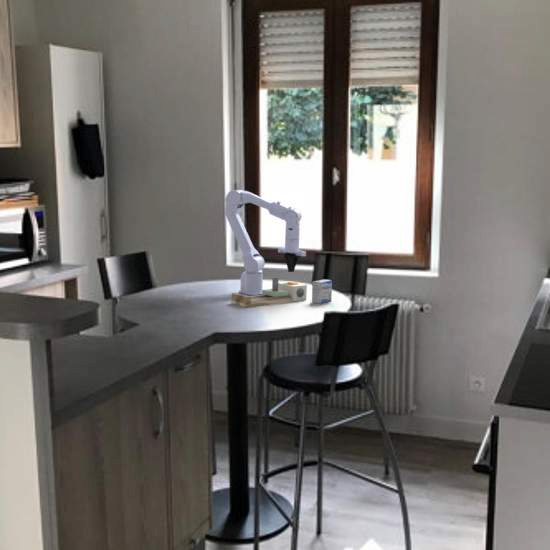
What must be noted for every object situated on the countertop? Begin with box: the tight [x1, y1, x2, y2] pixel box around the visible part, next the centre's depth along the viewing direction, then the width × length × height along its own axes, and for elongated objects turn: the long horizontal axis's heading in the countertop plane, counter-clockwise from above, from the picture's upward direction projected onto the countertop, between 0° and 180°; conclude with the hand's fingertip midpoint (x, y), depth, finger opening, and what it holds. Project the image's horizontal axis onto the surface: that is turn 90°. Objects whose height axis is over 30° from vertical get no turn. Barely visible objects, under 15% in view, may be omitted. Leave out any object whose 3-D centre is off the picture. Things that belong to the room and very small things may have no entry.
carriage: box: [261, 277, 288, 297], centre depth 298 cm, size 8×7×7 cm
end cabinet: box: [278, 281, 308, 302], centre depth 304 cm, size 10×7×6 cm
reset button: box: [286, 281, 298, 285], centre depth 304 cm, size 4×4×6 cm
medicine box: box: [311, 279, 333, 305], centre depth 298 cm, size 8×4×9 cm, turn 143°
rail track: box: [231, 292, 294, 308], centre depth 295 cm, size 10×23×4 cm, turn 129°
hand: (291, 271), depth 307 cm, fingers closed
